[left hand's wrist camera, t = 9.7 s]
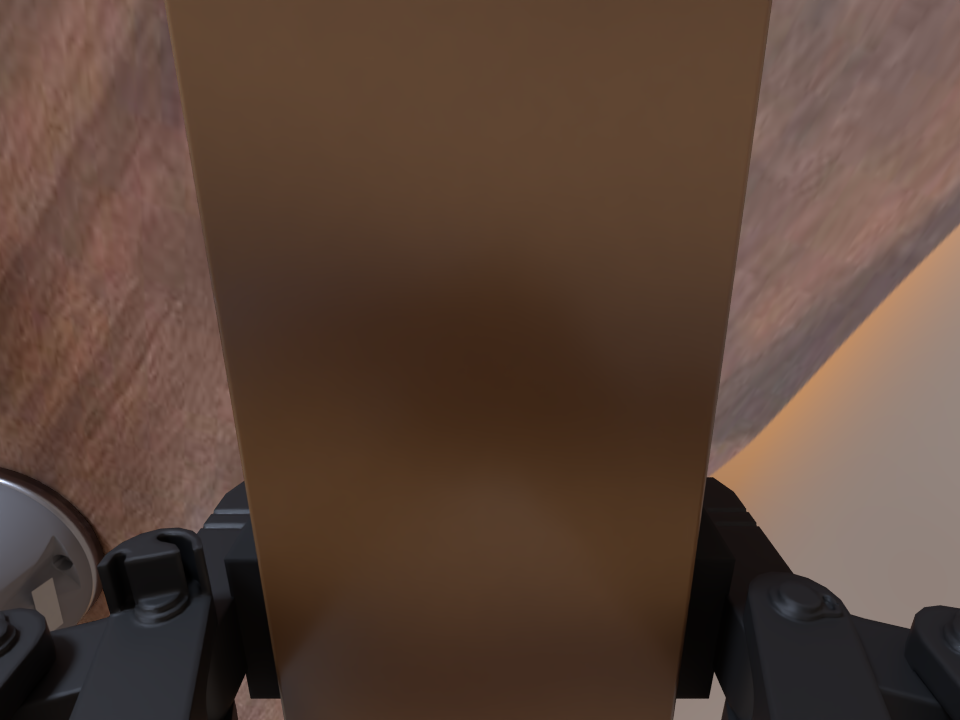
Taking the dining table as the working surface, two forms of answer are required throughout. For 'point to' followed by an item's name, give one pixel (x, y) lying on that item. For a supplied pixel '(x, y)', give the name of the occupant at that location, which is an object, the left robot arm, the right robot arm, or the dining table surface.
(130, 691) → the left robot arm
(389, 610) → the bar
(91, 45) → the dining table surface
